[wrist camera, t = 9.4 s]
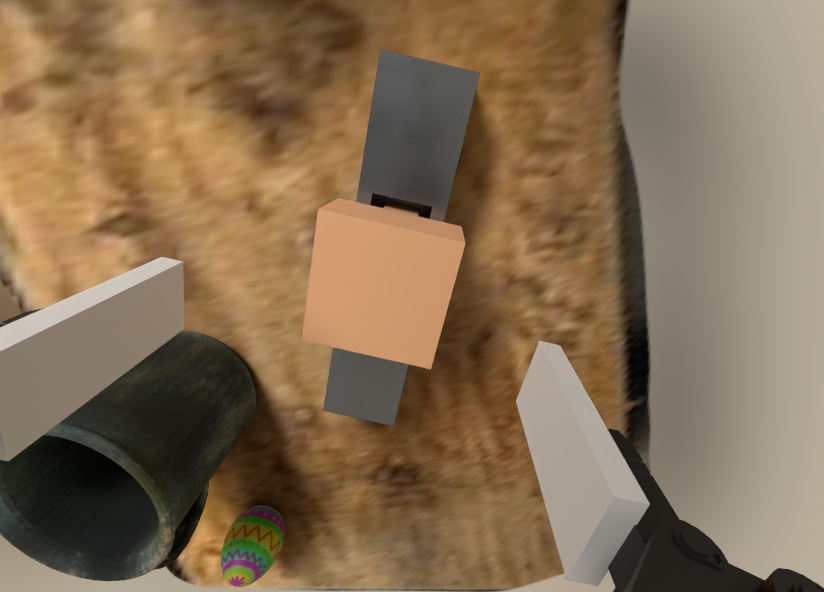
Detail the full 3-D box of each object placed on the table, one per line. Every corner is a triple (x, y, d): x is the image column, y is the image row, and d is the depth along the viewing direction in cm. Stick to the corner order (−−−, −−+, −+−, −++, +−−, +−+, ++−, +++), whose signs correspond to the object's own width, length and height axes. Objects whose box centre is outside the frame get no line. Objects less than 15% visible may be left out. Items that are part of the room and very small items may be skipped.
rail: (390, 65, 23) (380, 49, 19) (473, 84, 23) (480, 72, 19) (337, 378, 31) (323, 410, 27) (399, 392, 31) (393, 426, 27)
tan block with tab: (433, 315, 27) (431, 369, 21) (334, 293, 27) (301, 340, 21) (458, 217, 25) (465, 243, 18) (350, 192, 25) (318, 208, 18)
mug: (245, 316, 29) (126, 421, 18) (287, 467, 35) (213, 621, 23) (113, 325, 31) (-76, 429, 19) (172, 470, 36) (49, 619, 24)
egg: (257, 489, 36) (224, 553, 30) (301, 517, 37) (276, 584, 31) (230, 517, 37) (193, 582, 32) (272, 543, 38) (244, 611, 33)
